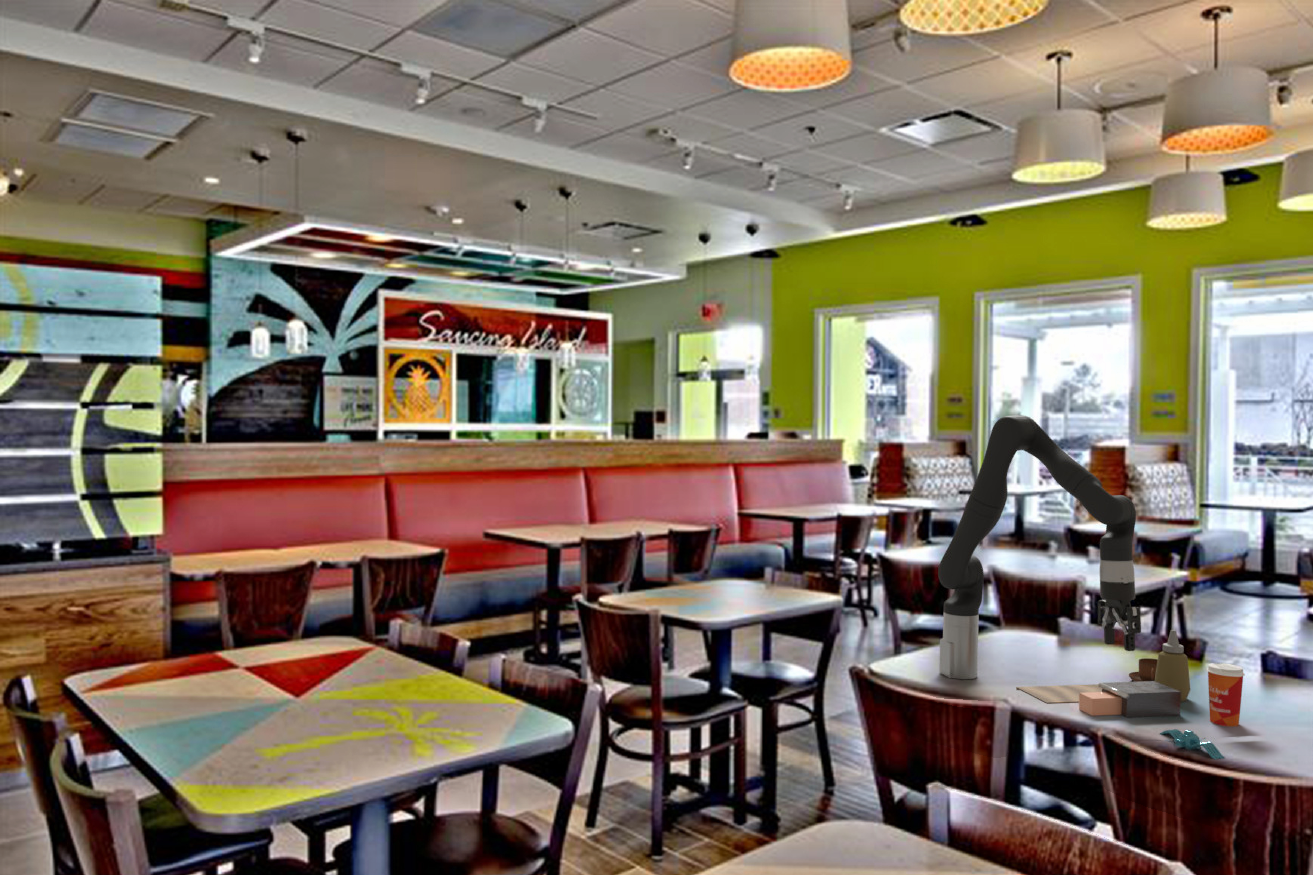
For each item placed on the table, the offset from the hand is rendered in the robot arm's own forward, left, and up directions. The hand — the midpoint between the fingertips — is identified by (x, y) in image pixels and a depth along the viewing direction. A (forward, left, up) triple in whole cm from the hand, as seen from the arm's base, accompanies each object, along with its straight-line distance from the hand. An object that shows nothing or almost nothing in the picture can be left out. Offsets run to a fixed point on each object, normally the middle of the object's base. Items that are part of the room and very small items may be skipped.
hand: (1119, 647), depth 228 cm
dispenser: (+6, +1, -17) cm, 18 cm away
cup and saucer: (+29, +26, -17) cm, 42 cm away
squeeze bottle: (+22, +10, -17) cm, 29 cm away
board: (0, +16, -17) cm, 23 cm away
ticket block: (+1, +1, -16) cm, 16 cm away
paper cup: (+20, -10, -17) cm, 28 cm away
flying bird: (+1, -22, -17) cm, 28 cm away
